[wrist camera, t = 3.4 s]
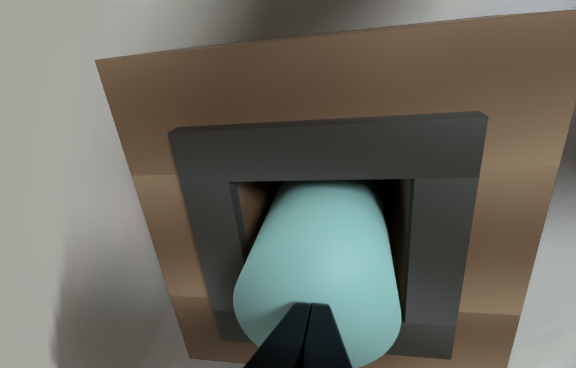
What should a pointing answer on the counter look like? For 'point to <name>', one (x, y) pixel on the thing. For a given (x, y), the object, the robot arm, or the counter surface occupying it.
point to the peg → (324, 265)
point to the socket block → (358, 165)
